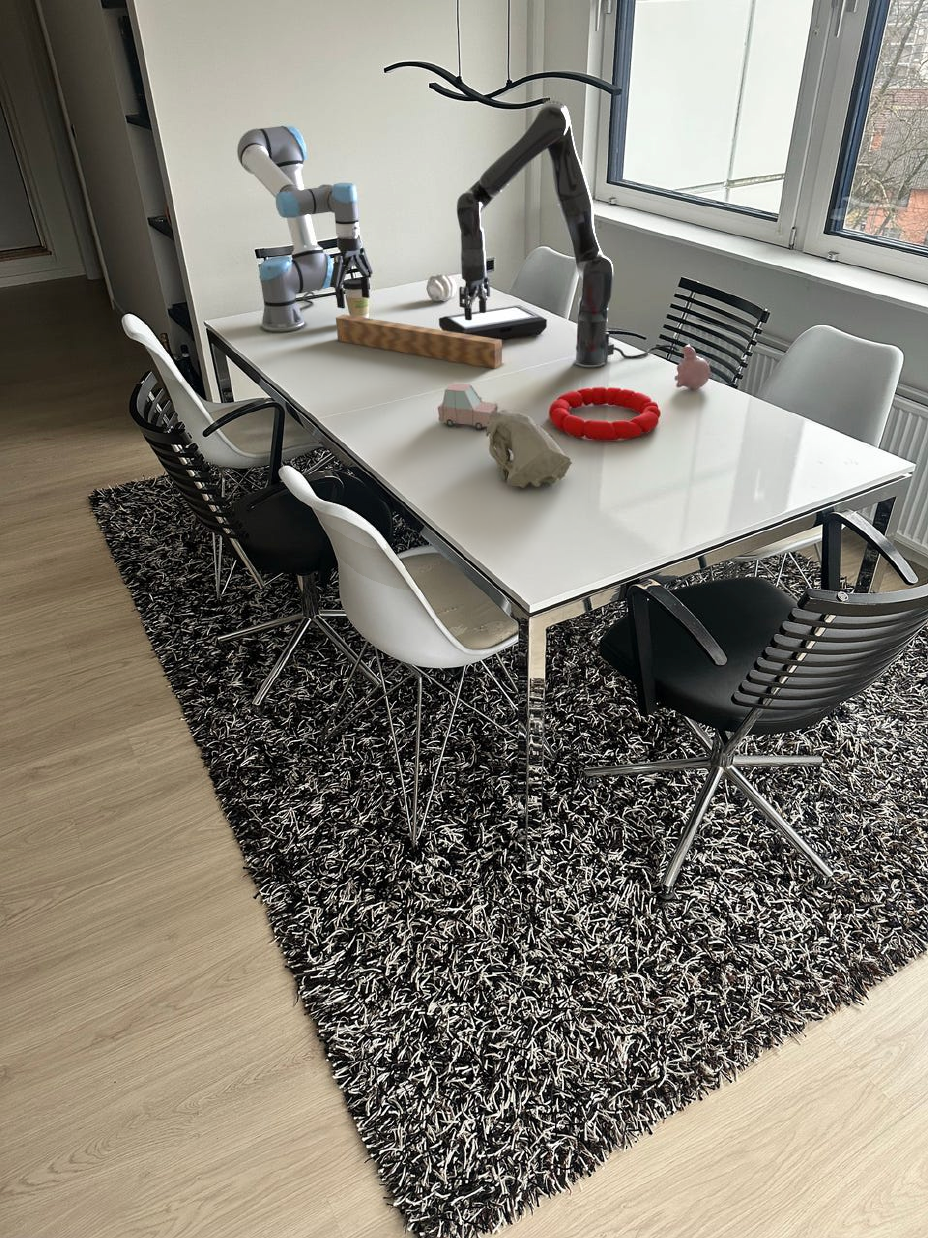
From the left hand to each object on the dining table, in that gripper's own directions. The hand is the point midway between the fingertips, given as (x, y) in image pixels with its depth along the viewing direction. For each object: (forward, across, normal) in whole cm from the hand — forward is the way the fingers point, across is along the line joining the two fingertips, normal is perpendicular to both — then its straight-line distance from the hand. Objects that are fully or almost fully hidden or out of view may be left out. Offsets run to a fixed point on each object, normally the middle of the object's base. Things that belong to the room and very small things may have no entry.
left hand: (353, 302), depth 302 cm
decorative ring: (+10, -27, -106) cm, 110 cm away
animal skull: (+10, -65, -100) cm, 120 cm away
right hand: (-3, 0, -48) cm, 48 cm away
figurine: (+10, +8, -118) cm, 118 cm away
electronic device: (+12, +27, -39) cm, 49 cm away
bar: (+12, 0, -25) cm, 28 cm away
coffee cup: (+14, +17, +12) cm, 25 cm away
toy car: (+11, -45, -73) cm, 87 cm away
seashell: (+14, +56, +1) cm, 58 cm away
